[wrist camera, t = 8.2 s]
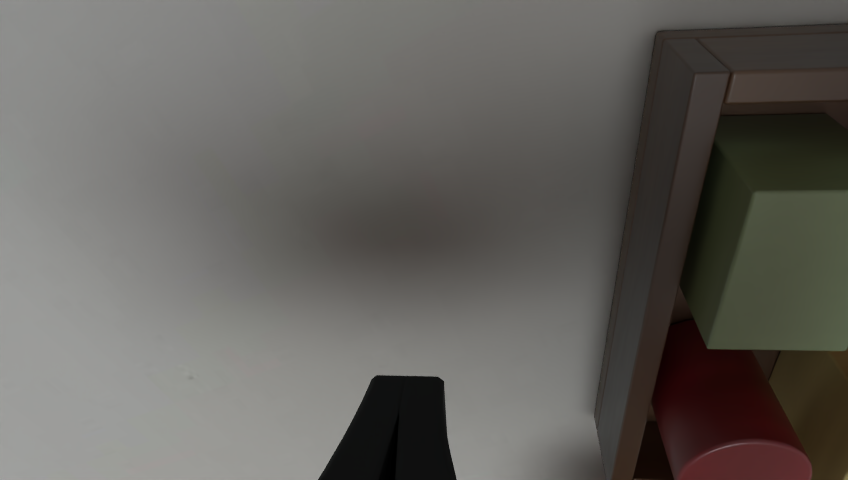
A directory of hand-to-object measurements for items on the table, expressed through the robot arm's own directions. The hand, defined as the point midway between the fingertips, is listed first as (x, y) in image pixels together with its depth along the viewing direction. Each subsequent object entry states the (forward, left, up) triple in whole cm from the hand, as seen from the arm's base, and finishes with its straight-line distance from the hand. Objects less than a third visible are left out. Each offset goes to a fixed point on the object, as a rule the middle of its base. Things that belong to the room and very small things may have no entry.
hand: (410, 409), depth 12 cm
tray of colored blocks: (-9, 0, -5) cm, 10 cm away
